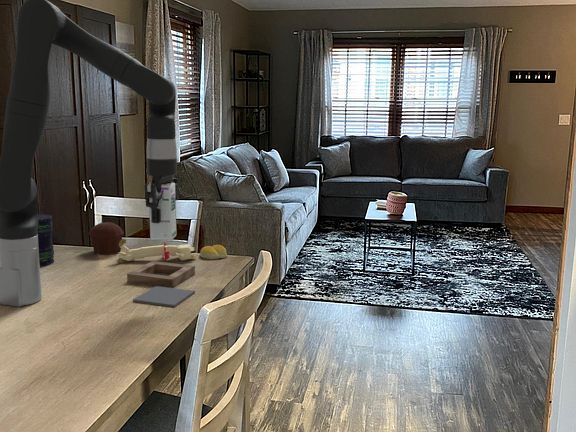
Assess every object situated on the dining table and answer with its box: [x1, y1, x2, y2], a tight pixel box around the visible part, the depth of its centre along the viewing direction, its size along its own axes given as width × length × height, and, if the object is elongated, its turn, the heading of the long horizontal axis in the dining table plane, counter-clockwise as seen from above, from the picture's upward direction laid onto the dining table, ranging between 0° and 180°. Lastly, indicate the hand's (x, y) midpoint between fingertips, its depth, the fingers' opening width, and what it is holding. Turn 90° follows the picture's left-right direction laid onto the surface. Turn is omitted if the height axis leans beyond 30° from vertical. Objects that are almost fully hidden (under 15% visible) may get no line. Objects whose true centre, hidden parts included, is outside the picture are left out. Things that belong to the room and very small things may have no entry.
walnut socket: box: [126, 260, 196, 288], centre depth 171 cm, size 14×14×2 cm
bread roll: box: [199, 244, 228, 260], centre depth 196 cm, size 8×9×4 cm
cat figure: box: [118, 238, 198, 264], centre depth 189 cm, size 10×9×25 cm
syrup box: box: [148, 182, 178, 241], centre depth 150 cm, size 6×6×14 cm
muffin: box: [88, 221, 125, 256], centre depth 198 cm, size 12×11×10 cm
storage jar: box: [38, 213, 55, 268], centre depth 182 cm, size 10×10×15 cm
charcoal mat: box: [132, 286, 196, 308], centre depth 155 cm, size 12×12×1 cm
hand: (163, 220), depth 151 cm, fingers closed on syrup box, 6 cm apart
